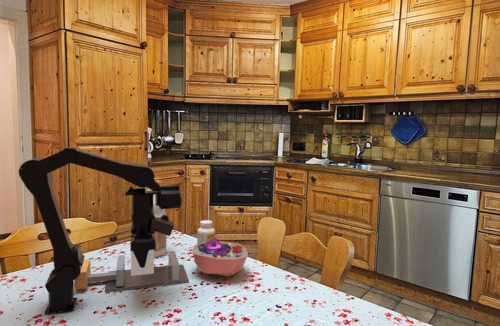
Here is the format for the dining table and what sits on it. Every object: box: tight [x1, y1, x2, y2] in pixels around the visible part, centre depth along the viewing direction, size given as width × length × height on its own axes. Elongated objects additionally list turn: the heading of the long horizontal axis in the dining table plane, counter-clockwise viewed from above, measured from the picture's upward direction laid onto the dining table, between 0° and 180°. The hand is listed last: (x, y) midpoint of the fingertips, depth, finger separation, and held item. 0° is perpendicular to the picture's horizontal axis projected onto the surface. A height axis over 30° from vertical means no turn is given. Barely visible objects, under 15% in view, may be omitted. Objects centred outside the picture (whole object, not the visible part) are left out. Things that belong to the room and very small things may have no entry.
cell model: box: [191, 237, 249, 277], centre depth 110 cm, size 17×20×11 cm
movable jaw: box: [73, 255, 126, 291], centre depth 100 cm, size 12×13×5 cm
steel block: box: [130, 250, 155, 276], centre depth 93 cm, size 4×6×7 cm, turn 109°
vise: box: [104, 250, 190, 293], centre depth 105 cm, size 13×24×6 cm, turn 109°
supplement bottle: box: [196, 219, 216, 245], centre depth 127 cm, size 7×7×13 cm
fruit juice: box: [146, 179, 167, 258], centre depth 126 cm, size 9×9×28 cm
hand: (142, 264), depth 93 cm, fingers closed on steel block, 4 cm apart
